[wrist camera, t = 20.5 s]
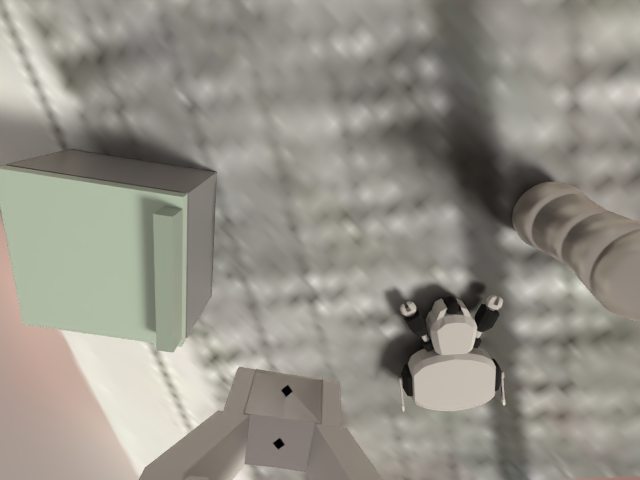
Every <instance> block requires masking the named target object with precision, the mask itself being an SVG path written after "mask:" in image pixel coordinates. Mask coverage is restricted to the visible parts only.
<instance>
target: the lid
mask: <svg viewBox="0 0 640 480" xmlns="http://www.w3.org/2000/svg"><path fill="white" fill-rule="evenodd" d="M0 208H1V213H2V218H3V224H4V229H5V234H6V239H7V244H8V249H9V254H10V259H11V265H12V270H13V275H14V280H15V285H16V290H17V295H18V300H19V306H20V311H21V316H22V321H23V324H26V325H32V326H40V327H46V328H53V329H60V330H67V331H74V332H81V333H88V334H95V335H102V336H109V337H116V338H123V339H130V340H137V341H144V342H151V343H156V348H157V350H159V351H166V352H174V350H175V349H176V347H177V346H179V347H182V345H183V344H184V342H185V340H186V265H187V194H186V193H179V192H173V191H166V190H160V189H153V188H147V187H141V186H134V185H128V184H121V183H115V182H108V181H102V180H96V179H89V178H83V177H76V176H70V175H63V174H57V173H51V172H44V171H38V170H31V169H25V168H18V167H12V166H6V165H2V166H0Z"/></svg>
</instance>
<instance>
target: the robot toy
mask: <svg viewBox="0 0 640 480" xmlns="http://www.w3.org/2000/svg"><path fill="white" fill-rule="evenodd" d="M406 303H407V305H408V306H409V307H408V308H405V305H404V304H402V305H401V307H400V311H401V313H402V314H403V315H405V318H404V319H405V320H406V322H407V324H408V325H409V327H410V329H411V330H412V331H413V332H414V333H415V334H417V335H419V336H421V337H422V340H421V343H422V345H423V347H424V348H425V349H422V350H420V351H418V352H416V353H415V354H413V355H412V356H411V358H410V360H409V362H408V364H406V365H404V368H403V371H402V373H401V375H402V377H399V383H400V388H401V400H402V410H403V412H404V410H405V409H404V402H403V390H402V385H403V389H404V390H405V392H406V394H407V396H411V397H412V399H413V400H414V402H415V404H417V405H419V406H421V407H423V408H426V409H431V410H440V411H458V410H463V409H469V408H473V407H477V406H480V405H483V404H485V403H486V402H488V401H489V400H491V399H492V398H493V397H494V395H495V391H497V390H498V389H499V386H500V384H501V392H502V398H501V399H502V404H503V406H504V405H505V397H504V383H503V378H504V372H503V371H501V369H500V367H499V365H498V364H497V362H496V361H495V359H491V357H490V356H489V354H488V353H487V351H486V350H484V349H482V348H480V347H478V346H479V345H480V343H481V339H480V335H481V333H482V332H484V331H486V330H488V329H490V328H492V327H493V325H494V323H495V322H496V320H497V318H498V316H499V313H498V311H497V309H499V308H500V307H501V306H502V303H503V300H502V298H501V297H499V296H497V297H496V295H490V296H489V297H488V298H487V299H486V305H485V304H481V306H480V307H479V309H478V311H477V313H476V315H475V320H474V319H473V317H472V316H471V315H470V313H469V311H468V309H467V308H466V306H465V305H464V303H463V302H462V301H461V300H460V299H457V298H455V297H453V296H448V297H446V298H444V302H443V300H442V298H441V299H439V300H437V301H436V302H435V303H434V305H433V308H432V310H431V311H430V312H429V313H428V315H427V318H426V322H425V320H424V318H423V316H422V315H421V313H420V311H419V310H417V309H416V305H415V304H414V303H413V302H411V301H408V302H406ZM426 324H427V330H428V334H429V336H428V335H427V333H426Z"/></svg>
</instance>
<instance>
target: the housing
mask: <svg viewBox="0 0 640 480" xmlns="http://www.w3.org/2000/svg"><path fill="white" fill-rule="evenodd" d="M6 165H7V166H12V167H18V168H25V169H31V170H38V171H44V172H51V173H57V174H63V175H70V176H76V177H83V178H89V179H96V180H102V181H108V182H115V183H121V184H128V185H134V186H141V187H147V188H153V189H160V190H166V191H173V192H179V193H186V194H187V265H186V338H187V337H188V335H189V334H190V332H191V330H192V329H193V327H194V325H195V323H196V322H197V320H198V318H199V316H200V315H201V313H202V311H203V309H204V308H205V306H206V304H207V303H208V301H209V299H210V297H211V293H212V270H213V248H214V225H215V203H216V180H217V172H212V171H205V170H199V169H193V168H186V167H180V166H174V165H167V164H161V163H155V162H148V161H142V160H136V159H129V158H123V157H117V156H110V155H104V154H98V153H91V152H85V151H79V150H72V149H69V150H65V151H61V152H57V153H53V154H48V155H44V156H40V157H36V158H32V159H27V160H23V161H19V162H15V163H10V164H6Z"/></svg>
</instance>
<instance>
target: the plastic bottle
mask: <svg viewBox="0 0 640 480" xmlns="http://www.w3.org/2000/svg"><path fill="white" fill-rule="evenodd" d="M512 222H513V226H514V229H515V230H516V232H517V233H518V235H519V236H520V238H521V239H522V240H523V241H524V242H525V243H527V244H529V245H530V246H532V247H534V248H536V249H538V250H541V251H544V252H546V253H547V254H549V255H551V256H552V257H554V258H556V259H557V260H559V261H561V262H562V263H563V264H564V265H565V266H566V267H567V268H568V269H570V270H571V271H572V272H573V273H574V274H575V275H576V276H577V277H578V278H579V279H580V280H581V281H582V283H583V284H584V285H585V286H586V287H587V289H588V290H589V291H590V292H591V293H592V294H593V296H594V297H595V298H596V299H597V300H598V301H599V302H600V303H601V304H602V305H603V306H604V307H605V308H606V309H607V310H609V311H610V312H612V313H615V314H617V315H619V316H622V317H624V318H627V319H631V320H635V321H640V222H638V221H634V220H631V219H629V218H626V217H624V216H621V215H618V214H615V213H613V212H610V211H608V210H606V209H604V208H603V207H601V206H599V205H598V204H596V203H595V202H593V201H591V200H590V199H589V198H588V197H587V196H586V195H585V194H584V193H583V192H581V191H580V190H578V189H577V188H575V187H574V186H572V185H569V184H565V183H559V182H544V183H541V184H538V185H535V186H533V187H532V188H530V189H529V190H527V191H526V192H525V193H524V194H523V195H522V196H521V197H520V198H519V200H518V201H517V203H516V205H515V207H514V210H513V213H512Z"/></svg>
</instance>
